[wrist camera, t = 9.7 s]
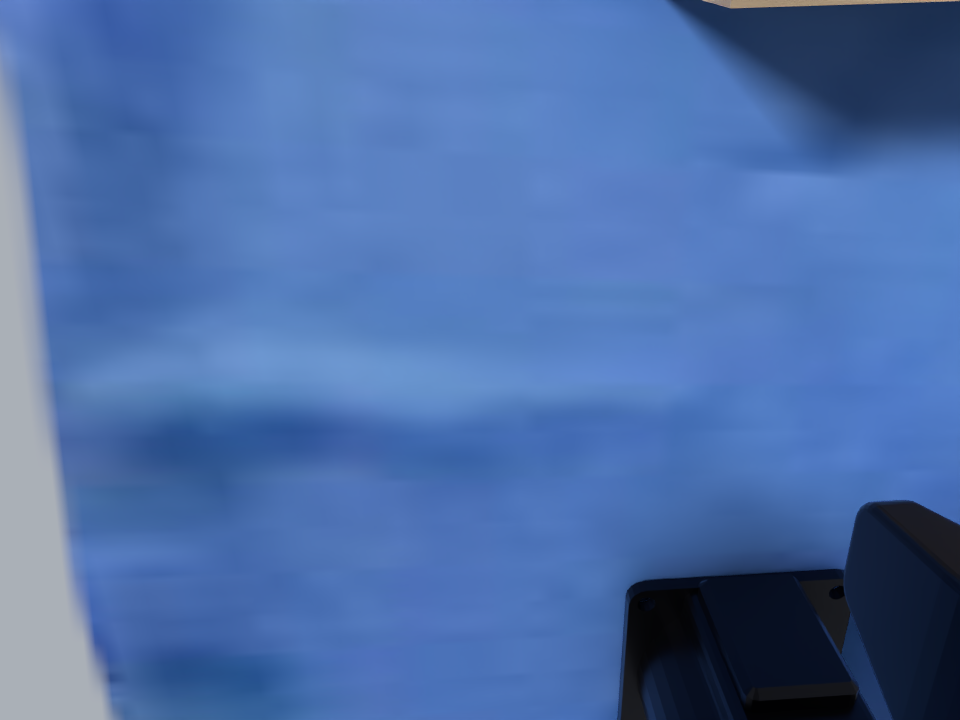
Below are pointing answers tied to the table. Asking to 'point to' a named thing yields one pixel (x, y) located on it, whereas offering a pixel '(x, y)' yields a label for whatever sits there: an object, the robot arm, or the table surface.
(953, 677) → the robot arm
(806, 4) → the birch bracket
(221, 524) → the table surface
